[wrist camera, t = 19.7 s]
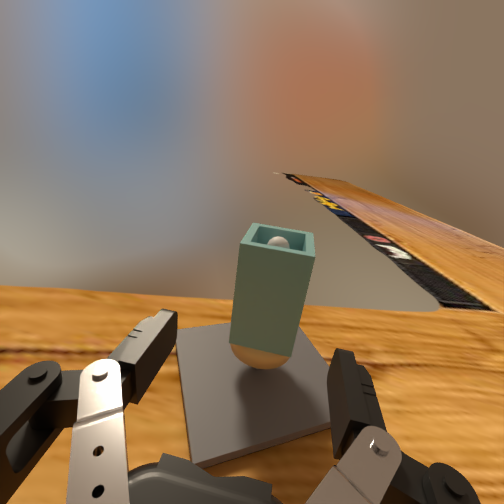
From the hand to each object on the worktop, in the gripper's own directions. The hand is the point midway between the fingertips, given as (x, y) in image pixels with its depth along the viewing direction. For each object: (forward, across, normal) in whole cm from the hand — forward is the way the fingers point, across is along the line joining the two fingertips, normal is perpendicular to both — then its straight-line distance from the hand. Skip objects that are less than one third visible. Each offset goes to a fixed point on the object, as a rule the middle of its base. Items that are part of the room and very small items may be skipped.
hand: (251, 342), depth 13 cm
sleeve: (+11, 0, +8) cm, 14 cm away
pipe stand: (+11, 0, +14) cm, 18 cm away
